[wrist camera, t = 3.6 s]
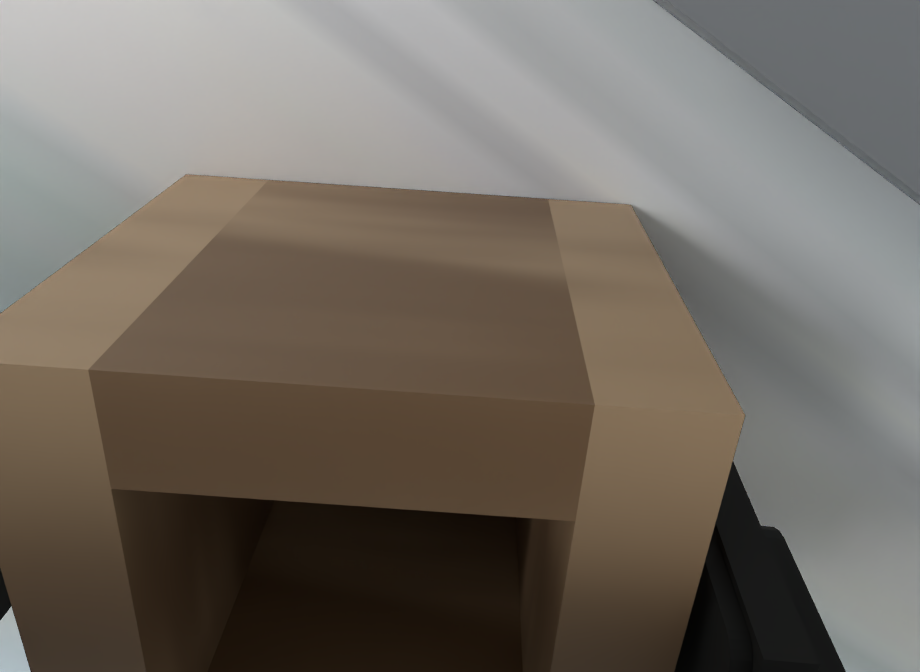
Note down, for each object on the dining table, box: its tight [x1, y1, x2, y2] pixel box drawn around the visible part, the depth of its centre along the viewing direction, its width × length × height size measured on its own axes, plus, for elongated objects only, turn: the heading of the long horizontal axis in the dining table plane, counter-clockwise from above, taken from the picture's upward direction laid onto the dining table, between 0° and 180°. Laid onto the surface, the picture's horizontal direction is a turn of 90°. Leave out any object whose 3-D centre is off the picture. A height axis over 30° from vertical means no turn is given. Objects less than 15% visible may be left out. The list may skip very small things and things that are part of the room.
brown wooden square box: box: [0, 174, 745, 672], centre depth 11 cm, size 7×7×6 cm
